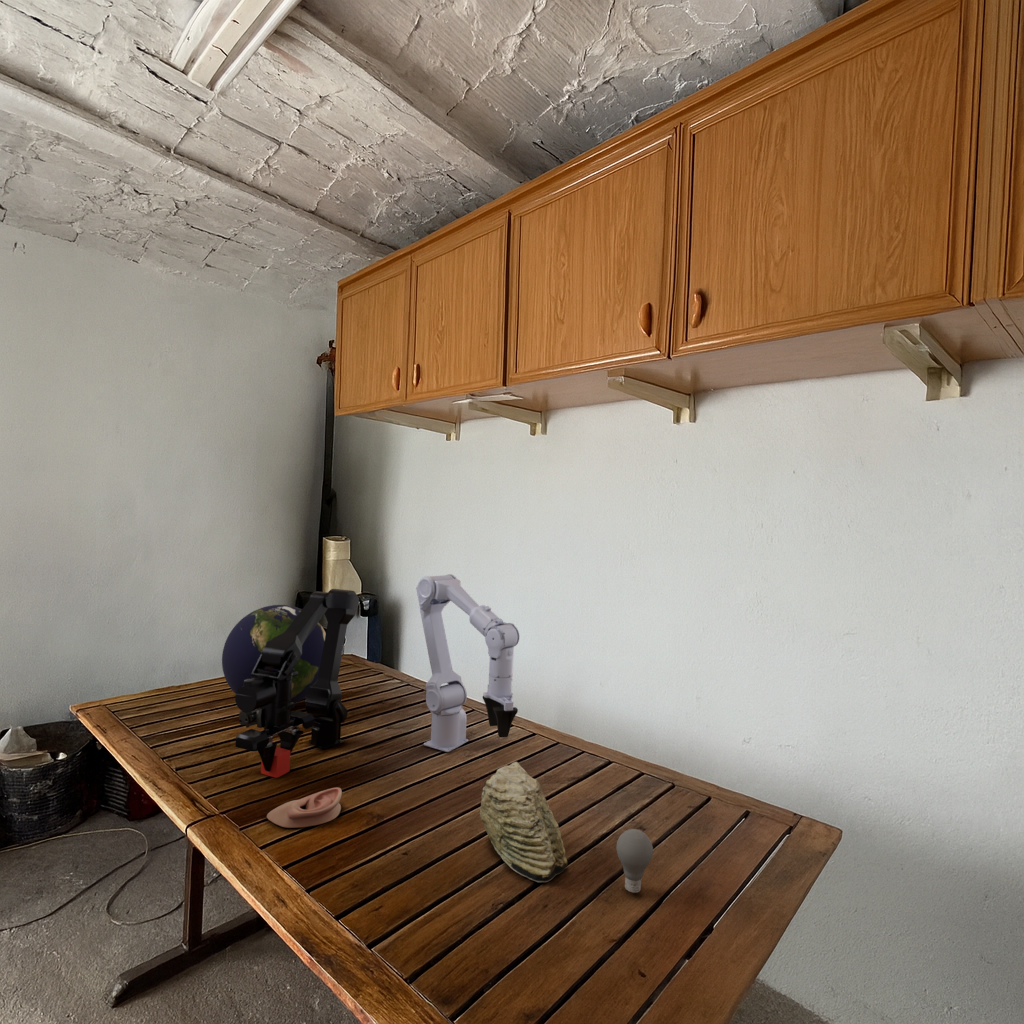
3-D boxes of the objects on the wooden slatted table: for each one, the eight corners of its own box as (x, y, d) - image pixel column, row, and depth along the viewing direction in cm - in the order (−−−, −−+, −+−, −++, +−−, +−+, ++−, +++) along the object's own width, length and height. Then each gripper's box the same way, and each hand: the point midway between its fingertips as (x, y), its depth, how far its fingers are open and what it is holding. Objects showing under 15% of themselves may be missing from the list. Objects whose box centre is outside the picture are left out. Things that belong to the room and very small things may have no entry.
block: (274, 767, 147) (274, 746, 147) (289, 771, 145) (290, 750, 145) (260, 773, 143) (261, 752, 143) (276, 778, 142) (277, 756, 141)
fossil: (501, 827, 124) (504, 751, 124) (575, 868, 111) (578, 784, 111) (467, 843, 118) (470, 763, 118) (541, 889, 105) (545, 799, 105)
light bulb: (610, 879, 108) (613, 822, 108) (644, 879, 109) (647, 822, 109) (619, 902, 102) (622, 840, 102) (655, 901, 103) (658, 840, 103)
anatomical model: (258, 803, 122) (290, 777, 133) (257, 823, 122) (290, 796, 133) (321, 812, 119) (349, 786, 130) (320, 833, 119) (348, 805, 130)
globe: (289, 685, 209) (292, 594, 208) (348, 705, 191) (352, 606, 191) (199, 706, 185) (203, 604, 184) (258, 732, 167) (262, 619, 167)
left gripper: (281, 683, 156) (279, 746, 156) (218, 704, 139) (215, 774, 139) (317, 690, 151) (314, 755, 152) (256, 713, 134) (253, 786, 135)
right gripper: (476, 667, 158) (474, 721, 158) (493, 684, 144) (491, 743, 144) (503, 666, 160) (501, 719, 160) (522, 682, 146) (520, 741, 146)
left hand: (275, 767), depth 144 cm, fingers open, 4 cm apart
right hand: (498, 731), depth 152 cm, fingers open, 7 cm apart
